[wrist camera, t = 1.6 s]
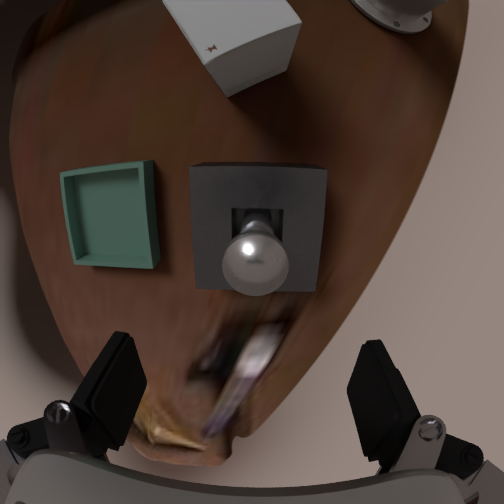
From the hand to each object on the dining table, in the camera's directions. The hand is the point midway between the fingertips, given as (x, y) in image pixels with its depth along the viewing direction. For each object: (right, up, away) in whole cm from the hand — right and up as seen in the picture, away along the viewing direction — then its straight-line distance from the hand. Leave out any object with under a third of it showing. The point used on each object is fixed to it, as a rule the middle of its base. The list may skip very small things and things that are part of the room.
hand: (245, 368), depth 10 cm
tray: (-17, +9, +20) cm, 28 cm away
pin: (+1, +8, +19) cm, 21 cm away
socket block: (+1, +9, +20) cm, 22 cm away
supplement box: (-1, +25, +14) cm, 29 cm away
